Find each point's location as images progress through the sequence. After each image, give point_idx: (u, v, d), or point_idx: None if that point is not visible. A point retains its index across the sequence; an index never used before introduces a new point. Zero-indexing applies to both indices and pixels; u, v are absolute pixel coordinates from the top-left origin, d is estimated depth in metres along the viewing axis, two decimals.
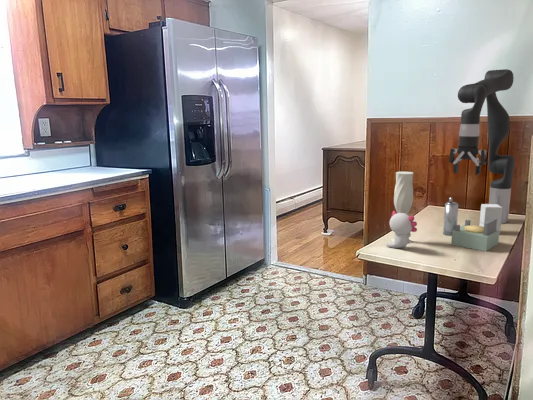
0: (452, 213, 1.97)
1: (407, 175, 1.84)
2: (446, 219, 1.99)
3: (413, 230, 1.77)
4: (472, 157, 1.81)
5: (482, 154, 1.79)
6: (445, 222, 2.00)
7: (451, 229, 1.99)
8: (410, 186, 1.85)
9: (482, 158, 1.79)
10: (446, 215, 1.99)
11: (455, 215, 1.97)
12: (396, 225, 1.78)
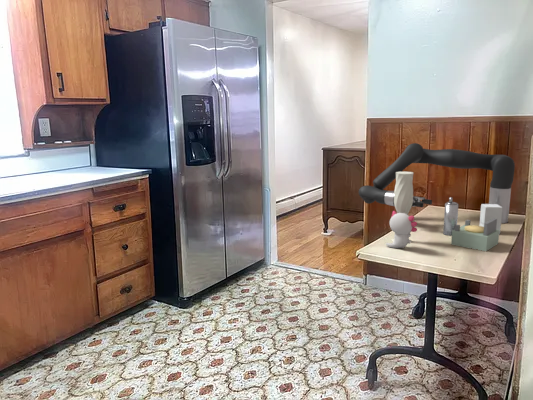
0: (452, 213, 1.97)
1: (407, 175, 1.84)
2: (446, 219, 1.99)
3: (413, 230, 1.77)
4: None
5: None
6: (445, 222, 2.00)
7: (451, 229, 1.99)
8: (410, 186, 1.85)
9: None
10: (446, 215, 1.99)
11: (455, 215, 1.97)
12: (396, 225, 1.78)
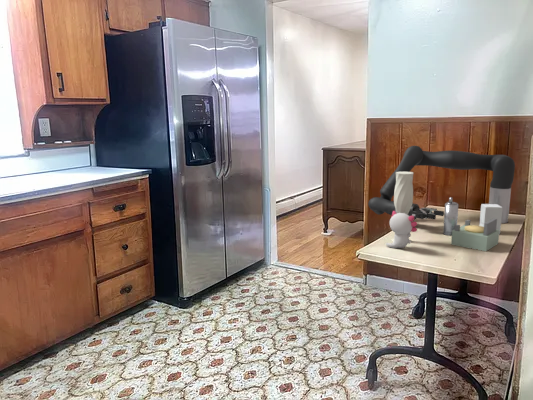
0: (452, 213, 1.97)
1: (407, 175, 1.84)
2: (446, 219, 1.99)
3: (413, 230, 1.77)
4: None
5: None
6: (445, 222, 2.00)
7: (451, 229, 1.99)
8: (410, 186, 1.85)
9: None
10: (446, 215, 1.99)
11: (455, 215, 1.97)
12: (396, 225, 1.78)
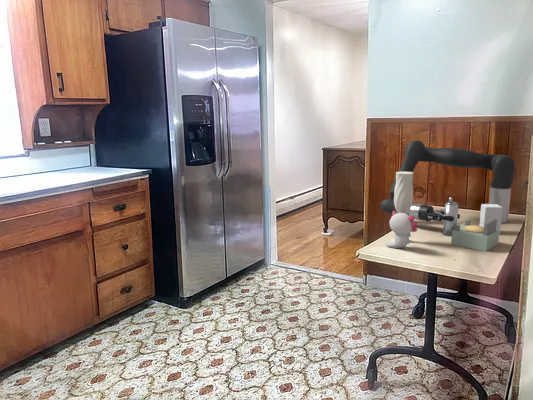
0: (452, 213, 1.97)
1: (407, 175, 1.84)
2: None
3: (413, 230, 1.77)
4: None
5: None
6: (445, 222, 2.00)
7: (451, 229, 1.99)
8: (410, 186, 1.85)
9: None
10: None
11: (455, 215, 1.97)
12: (396, 225, 1.78)
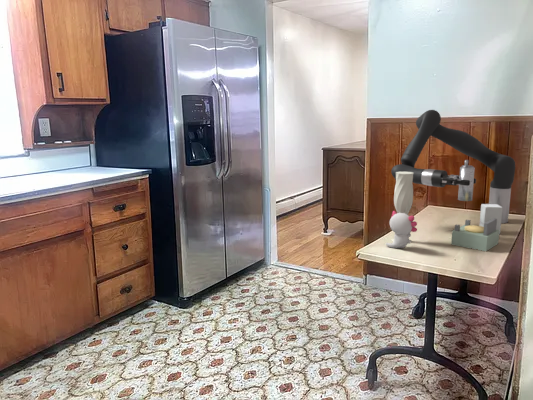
0: (467, 176, 1.85)
1: (407, 175, 1.84)
2: None
3: (413, 230, 1.77)
4: None
5: None
6: (460, 187, 1.88)
7: (466, 194, 1.87)
8: (410, 186, 1.85)
9: (450, 184, 1.88)
10: None
11: (471, 179, 1.85)
12: (396, 225, 1.78)
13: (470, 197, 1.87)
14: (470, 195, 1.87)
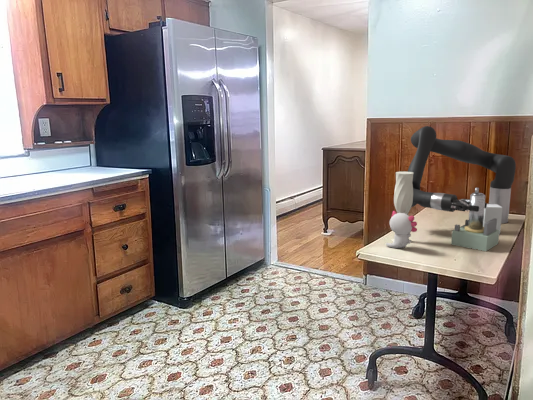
0: (478, 204, 1.81)
1: (407, 175, 1.84)
2: (472, 211, 1.83)
3: (413, 230, 1.77)
4: None
5: None
6: (471, 215, 1.83)
7: (477, 222, 1.82)
8: (410, 186, 1.85)
9: None
10: None
11: (482, 207, 1.81)
12: (396, 225, 1.78)
13: (481, 225, 1.82)
14: (481, 223, 1.82)
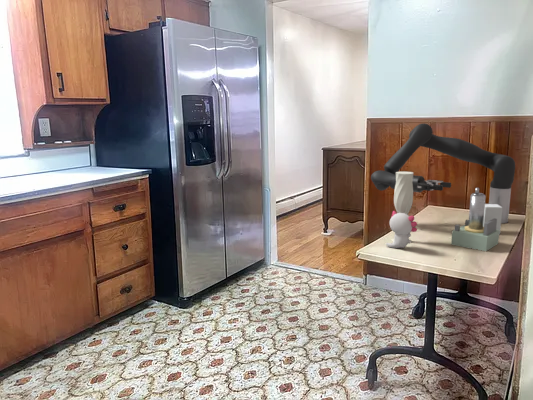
0: (478, 205, 1.81)
1: (407, 175, 1.84)
2: (472, 212, 1.83)
3: (413, 230, 1.77)
4: None
5: (421, 189, 1.95)
6: (471, 215, 1.83)
7: (477, 222, 1.82)
8: (410, 186, 1.85)
9: None
10: (472, 207, 1.82)
11: (482, 207, 1.81)
12: (396, 225, 1.78)
13: (481, 225, 1.82)
14: (481, 224, 1.82)
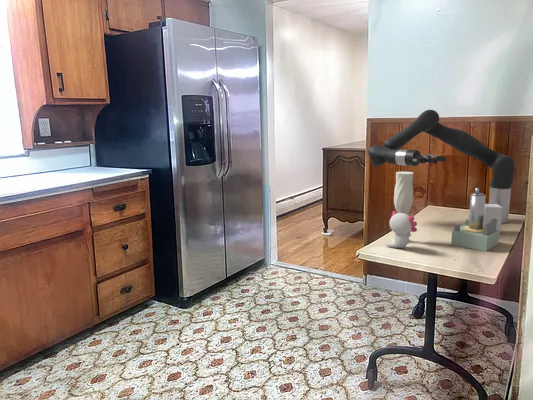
0: (478, 205, 1.81)
1: (407, 175, 1.84)
2: (472, 212, 1.83)
3: (413, 230, 1.77)
4: None
5: (416, 162, 1.97)
6: (471, 215, 1.83)
7: (477, 222, 1.82)
8: (410, 186, 1.85)
9: None
10: (472, 207, 1.82)
11: (482, 207, 1.81)
12: (396, 225, 1.78)
13: (481, 225, 1.82)
14: (481, 223, 1.82)
